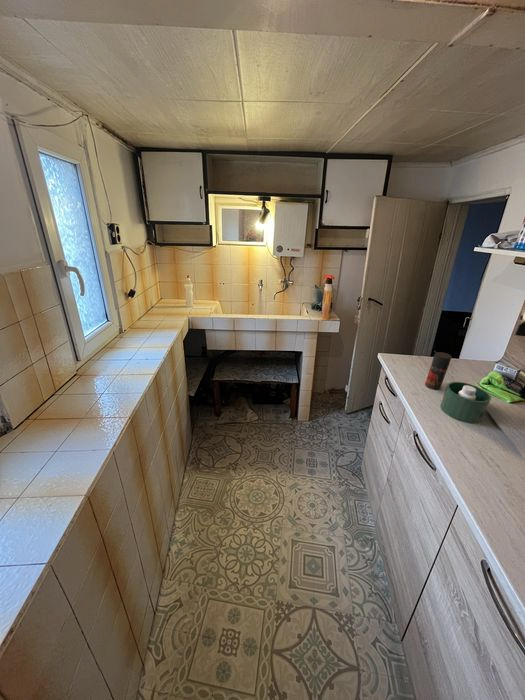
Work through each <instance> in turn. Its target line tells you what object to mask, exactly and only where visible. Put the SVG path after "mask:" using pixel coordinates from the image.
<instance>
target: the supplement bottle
mask: <svg viewBox="0 0 525 700" xmlns="http://www.w3.org/2000/svg"><path fill="white" fill-rule="evenodd" d="M475 393H476V389H475V388H474V387H471V386H467V385H465V386H463V388H462V390H461V391H459V393H458V395H459V396H461V397H464V398H466V399H470V400H474V401H475V399H476V396H475Z"/></svg>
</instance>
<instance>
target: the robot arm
mask: <svg viewBox="0 0 525 700" xmlns="http://www.w3.org/2000/svg"><path fill="white" fill-rule="evenodd" d="M520 314H521V315H520V316H519V317H520V320H519V322H518V327H517V328H516V331H515V333H514V335H515V336H516V337H517V336H519V337H525V309H522V310H521V313H520Z"/></svg>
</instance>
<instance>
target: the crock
mask: <svg viewBox="0 0 525 700" xmlns="http://www.w3.org/2000/svg"><path fill="white" fill-rule="evenodd" d="M465 385H467V386H471V387H474V388H475V389H476V393H475V396H476V399H475V401H474V400H470V399H466V398H464V397H461V396H459V395H458V393H459V391H461V390H462V388H463V386H465ZM491 401H492V396H491V394H490V393H488V392H487V391H485V390H484V389H483V388H480V387H479V386H476V385H473V384H471V383H467V382H463V381H451V382H449V383H448V384H446V387H445V391H444V393H443V396H442V399H441V400H440V405H439V407H440V409H441V411H442V412H443V413H444V414H445V415H447V416H449V417H450V418H452V419H454V420H457V421H460V422H463V423H468V424H477V423H480V422H481V421H482V420H483V418H484V416H485V414H486V411H487V409H488V406H489V405H490V402H491Z"/></svg>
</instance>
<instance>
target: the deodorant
mask: <svg viewBox="0 0 525 700" xmlns="http://www.w3.org/2000/svg"><path fill="white" fill-rule="evenodd" d="M451 359H452V355H451V354H449V353H446V352H443V351H436V352H434V355H433V358H432V361H431V364H430V368H429V369H428V373H427V376H426V380H425V382H424V386H425V387H426V388H428V389H430V390H433V391H440V390H441V388H442V385H443V382H444V379H445V378H446V374H447V371H448V369H449V365H450V363H451Z"/></svg>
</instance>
